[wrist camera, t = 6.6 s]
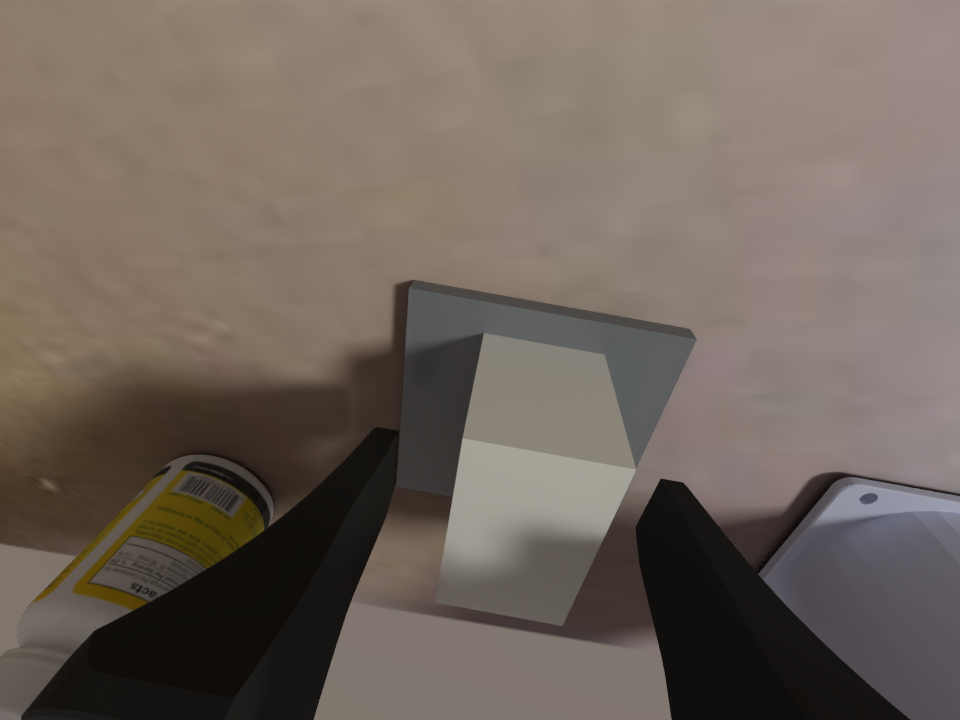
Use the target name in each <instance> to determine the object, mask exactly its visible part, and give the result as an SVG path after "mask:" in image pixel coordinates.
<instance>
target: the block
mask: <svg viewBox="0 0 960 720" xmlns="http://www.w3.org/2000/svg"><path fill="white" fill-rule="evenodd" d="M635 472H636V467H635V463H634V459H633V456H632V452H631V449H630V445H629V441H628V438H627V434H626V430H625V427H624V423H623V419H622V416H621V412H620V409H619V405H618V401H617V398H616V394H615V390H614V387H613V383H612V380H611V376H610V372H609V369H608V365H607V361H606V358H605V355H604V354H598V353H593V352H587V351H582V350H576V349H570V348H565V347H559V346H554V345H548V344H543V343H537V342H531V341H526V340H520V339H515V338H509V337H503V336H498V335H492V334H487V333H484V335H483V340H482V345H481V350H480V355H479V360H478V365H477V370H476V375H475V380H474V384H473V389H472V394H471V399H470V404H469V409H468V414H467V419H466V424H465V429H464V434H463V439H462V445H461V451H460V457H459V463H458V469H457V475H456V481H455V487H454V493H453V499H452V505H451V511H450V517H449V523H448V529H447V535H446V541H445V547H444V553H443V559H442V565H441V571H440V577H439V583H438V589H437V595H436V601H435V603H440V604H446V605H451V606H456V607H462V608H467V609H473V610H478V611H483V612H489V613H494V614H500V615H505V616H510V617H516V618H521V619H526V620H532V621H537V622H543V623H548V624H553V625H559V626H563V624H564V622H565V620H566V618H567V615H568V613H569V611H570V609H571V607H572V605H573V603H574V601H575V599H576V596H577V594H578V592H579V590H580V588H581V586H582V584H583V582H584V580H585V577H586V575H587V573H588V571H589V569H590V567H591V565H592V563H593V560H594V558H595V556H596V554H597V552H598V550H599V548H600V546H601V544H602V541H603V539H604V537H605V535H606V533H607V531H608V529H609V527H610V525H611V522H612V520H613V518H614V516H615V514H616V512H617V510H618V508H619V506H620V503H621V501H622V499H623V497H624V495H625V493H626V491H627V489H628V486H629V484H630V482H631V480H632V478H633V476H634V474H635Z"/></svg>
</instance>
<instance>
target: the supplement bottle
mask: <svg viewBox="0 0 960 720" xmlns="http://www.w3.org/2000/svg"><path fill="white" fill-rule="evenodd" d="M273 512H274V505H273V501H272V498H271V496H270V494H269V492H268V491H267V489H266V488H265V487H264V485H263V484H262V483H261V482H260V481H259V480H258V479H257V478H256V477H255V476H254V475H253V474H252V473H250V472H249V471H248V470H246V469H245V468H243V467H241V466H240V465H238V464H236V463H234V462H231V461H229V460H226V459H223V458H220V457H216V456H211V455H188V456H183V457H180V458H177V459H175V460H173V461H171V462H170V463H168V464H167V465H166V466H164V467H163V468H162V469H161V470H160V471H159V472H158V473H157V474H156V475H155V476H154V477H153V479H152V480H151V481H150V482H149V483H148V484H147V485H146V486H145V487H144V488H143V489H142V490H141V491H140V492H139V493H138V494H137V495H136V496H135V497H134V498H133V499H132V500H131V501H130V503H129V504H128V505H127V506H126V507H125V508H124V509H123V510H122V511H121V512H120V513H119V514H118V515H117V516H116V517H115V518H114V519H113V520H112V521H111V522H110V523H109V524H108V525H107V526H106V527H105V528H104V529H103V530H102V531H101V532H100V533H99V534H98V535H97V537H96V538H95V539H94V540H93V541H92V542H91V543H90V544H89V545H88V546H87V547H86V548H85V549H84V550H83V551H82V552H81V553H80V554H79V555H78V556H77V557H76V558H75V559H74V560H73V561H72V562H71V563H70V564H69V565H68V566H67V567H66V568H65V569H64V570H63V571H62V572H61V573H60V574H59V575H58V577H56V578H55V579H54V581H53V582H52V583H51V584H50V585H49V586H48V587H47V588H46V589H45V590H44V591H43V592H42V593H41V594H40V595H38V596H37V598H36V599H35V600H34V601H33V602H32V603H31V604H30V605H29V606H28V607H27V609H26V610H25V612H24V614H23V615H22V617H21V619H20V621H19V624H18V627H17V638H18V642H19V644H20V646H21V647H20V648H14V649H10V650H8V651H6V652H4V653H3V654H2V655H1V656H0V720H21V715H22V714H23V713H24V712H25V711H26V709H27V708H28V707H29V706H30V704H31V703H32V702H33V701H34V700H35V698H36V697H37V696H38V695H39V693H40V692H41V691H42V690H43V689H44V687H45V686H46V685H47V684H48V682H49V681H50V680H51V679H52V678H53V676H54V675H55V674H56V673H57V671H58V670H59V669H60V668H61V667H62V665H63V664H64V663H65V662H66V661H67V659H68V658H69V657H70V656H71V655H72V654H73V653H74V652H75V650H76V649H77V648H78V647H79V646H80V645H81V644H82V643H83V642H84V641H85V640H86V639H87V638H88V637H89V636H90V635H91V634H92V633H93V631H95V630H96V629H98V628H100V627H102V626H104V625H106V624H108V623H110V622H112V621H114V620H116V619H118V618H120V617H122V616H124V615H126V614H128V613H129V612H131V611H133V610H135V609H137V608H139V607H141V606H143V605H145V604H147V603H149V602H150V601H152V600H154V599H156V598H158V597H160V596H162V595H163V594H165V593H167V592H169V591H171V590H172V589H174V588H176V587H177V586H179V585H181V584H182V583H184V582H186V581H187V580H189V579H191V578H192V577H194V576H196V575H197V574H199V573H201V572H202V571H204V570H206V569H207V568H209V567H211V566H212V565H214V564H216V563H217V562H219V561H220V560H222V559H223V558H225V557H226V556H228V555H229V554H231V553H232V552H234V551H235V550H237V549H238V548H240V547H241V546H243V545H244V544H245V543H247V542H248V541H250V540H251V539H253V538H254V537H256V536H257V535H258V534H260V533H261V532H263V531H264V530H265V529H266V528H267V527H268V525H269V524H270V522H271V520H272V517H273Z"/></svg>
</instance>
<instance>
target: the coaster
mask: <svg viewBox="0 0 960 720" xmlns="http://www.w3.org/2000/svg"><path fill="white" fill-rule="evenodd" d="M484 333H487V334H492V335H498V336H503V337H509V338H515V339H520V340H526V341H531V342H537V343H543V344H548V345H554V346H559V347H565V348H570V349H576V350H582V351H587V352H593V353H598V354H604V355H605V358H606V361H607V365H608V369H609V372H610V376H611V380H612V383H613V387H614V390H615V394H616V398H617V401H618V405H619V409H620V412H621V416H622V419H623V423H624V427H625V430H626V434H627V438H628V441H629V445H630V449H631V452H632V456H633V459H634V463H635V467H637V465H638V463H639V461H640V459H641V457H642V454H643V452H644V450H645V448H646V446H647V444H648V442H649V439H650V437H651V435H652V433H653V431H654V429H655V427H656V425H657V422H658V420H659V418H660V416H661V414H662V412H663V410H664V408H665V405H666V403H667V401H668V399H669V397H670V395H671V393H672V391H673V388H674V386H675V384H676V382H677V380H678V378H679V376H680V374H681V371H682V369H683V367H684V365H685V363H686V361H687V359H688V357H689V354H690V352H691V350H692V348H693V346H694V344H695V342H696V340H697V339H696V338H695V336H694V335H693V333H692V332H691V330H690V329H686V328H680V327H675V326H669V325H664V324H658V323H652V322H647V321H641V320H635V319H630V318H624V317H618V316H613V315H607V314H602V313H596V312H590V311H585V310H579V309H573V308H568V307H562V306H557V305H551V304H545V303H540V302H534V301H528V300H523V299H517V298H512V297H506V296H500V295H495V294H489V293H483V292H478V291H472V290H467V289H461V288H455V287H450V286H444V285H438V284H433V283H427V282H421V281H416V280H414V281H413V282H412V284H411V286H410V287H409V295H408V311H407V327H406V342H405V358H404V374H403V390H402V405H401V421H400V437H399V452H398V468H397V484H396V487H399V488H405V489H410V490H415V491H421V492H426V493H432V494H437V495H443V496H448V497H453V493H454V487H455V481H456V475H457V469H458V463H459V457H460V451H461V445H462V439H463V434H464V429H465V424H466V419H467V414H468V409H469V404H470V399H471V394H472V389H473V384H474V380H475V375H476V370H477V365H478V360H479V355H480V350H481V345H482V340H483V335H484Z"/></svg>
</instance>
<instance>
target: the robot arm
mask: <svg viewBox="0 0 960 720" xmlns="http://www.w3.org/2000/svg"><path fill="white" fill-rule="evenodd" d="M398 437H399V431H396V430H390V429H385V428H379V427H376V428H375V429H373V430H372V431H371V432H370V433H369V435H368V436H367V437H366V438H365V439H364V440H363V441H362V443H361V444H360V445H359V446H358V447H357V448H356V449H355V450H354V451H353V452H352V453H351V454H350V455H349V456H348V457H347V459H346V460H345V461H344V462H343V463H342V464H341V465H340V466H339V467H337V468H336V469H335V470H334V471H333V472H332V473H331V474H330V475H329V476H328V477H327V478H326V479H325V480H324V481H323V482H322V483H321V484H320V485H319V486H318V487H316V488H315V489H314V490H313V491H312V492H311V493H310V494H308V495H307V496H306V497H305V498H304V499H303V500H302V501H300V502H299V503H298V504H297V505H296V506H295V507H293V508H292V509H291V510H290V511H288V512H287V513H286V514H285V515H283V516H282V517H281V518H280V519H278V520H277V521H276V522H274V523H273V524H272V525H270V526H269V527H268V528H266V529H265V530H264V531H263V532H261V533H260V534H258V535H257V536H256V537H254V538H253V539H251V540H250V541H248V542H247V543H245V544H244V545H243V546H241V547H240V548H238V549H237V550H235V551H234V552H232V553H231V554H229V555H228V556H226V557H225V558H223V559H222V560H220V561H219V562H217V563H216V564H214V565H212V566H211V567H209V568H207V569H206V570H204V571H202V572H201V573H199V574H197V575H196V576H194V577H192V578H191V579H189V580H187V581H186V582H184V583H182V584H181V585H179V586H177V587H176V588H174V589H172V590H171V591H169V592H167V593H165V594H163V595H162V596H160V597H158V598H156V599H154V600H152V601H150V602H149V603H147V604H145V605H143V606H141V607H139V608H137V609H135V610H133V611H131V612H129V613H128V614H126V615H124V616H122V617H120V618H118V619H116V620H114V621H112V622H110V623H108V624H106V625H104V626H102V627H100V628H98V629H96V630H95V631H93V633H92V634H91V635H90V636H89V637H88V638H87V639H86V640H85V641H84V642H83V643H82V644H81V645H80V646H79V647H78V648H77V649H76V650H75V652H74V653H73V654H72V655H71V656H70V657H69V658H68V659H67V661H66V662H65V663H64V664H63V665H62V667H61V668H60V669H59V670H58V671H57V673H56V674H55V675H54V676H53V678H52V679H51V680H50V681H49V682H48V684H47V685H46V686H45V687H44V689H43V690H42V691H41V692H40V693H39V695H38V696H37V697H36V698H35V700H34V701H33V702H32V703H31V704H30V706H29V707H28V708H27V709H26V711H25V712H24V713H23V714H22V715H21V720H314V716H315V712H316V709H317V706H318V703H319V699H320V696H321V693H322V689H323V686H324V683H325V680H326V676H327V673H328V670H329V667H330V663H331V660H332V657H333V654H334V651H335V648H336V644H337V641H338V638H339V635H340V631H341V629H342V625H343V622H344V619H345V616H346V613H347V611H348V608H349V605H350V603H351V600H352V597H353V595H354V592H355V590H356V588H357V585H358V583H359V580H360V578H361V576H362V573H363V571H364V568H365V566H366V564H367V561H368V559H369V556H370V554H371V552H372V549H373V547H374V545H375V542H376V540H377V537H378V535H379V532H380V530H381V528H382V525H383V523H384V520H385V518H386V514H387V511H388V508H389V504H390V501H391V498H392V494H393V491H394V487H395V484H396V469H397V453H398ZM636 537H637V547H638V555H639V563H640V568H641V573H642V577H643V581H644V586H645V590H646V594H647V598H648V603H649V607H650V611H651V615H652V619H653V623H654V627H655V631H656V635H657V640H658V644H659V648H660V652H661V656H662V661H663V666H664V671H665V677H666V683H667V691H668V698H669V704H670V711H671V718H672V720H960V496H956V495H950V494H944V493H939V492H933V491H928V490H922V489H917V488H911V487H906V486H900V485H895V484H889V483H883V482H878V481H872V480H867V479H861V478H856V477H846V478H842V479H840V480H837V481H836V482H835V483H833V484H832V485H831V487H830V488H829V489H828V490H827V491H826V493H825V494H824V495H823V496H822V498H821V499H820V500H819V501H818V502H817V504H816V505H815V506H814V507H813V508H812V510H811V511H810V512H809V513H808V514H807V516H806V517H805V518H804V519H803V520H802V522H801V523H800V524H799V525H798V527H797V528H796V529H795V530H794V531H793V533H792V534H791V535H790V536H789V537H788V539H787V540H786V541H785V542H784V543H783V545H782V546H781V547H780V548H779V549H778V551H777V552H776V553H775V554H774V555H773V557H772V558H771V559H770V560H769V562H768V563H767V564H766V565H765V566H764V568H763V569H762V570H761V571H760V572H759V574H757V572H756V571H755V570H754V569H753V568H752V567H751V565H750V564H749V563H748V562H747V561H746V560H745V558H744V557H743V556H742V555H741V554H740V552H739V551H738V550H737V549H736V548H735V546H734V545H733V544H732V543H731V541H730V540H729V539H728V538H727V537H726V535H725V534H724V533H723V532H722V530H721V529H720V528H719V527H718V525H717V524H716V523H715V522H714V520H713V519H712V518H711V516H710V515H709V514H708V513H707V511H706V510H705V509H704V508H703V506H702V505H701V504H700V503H699V501H698V500H697V499H696V498H695V496H694V495H693V494H692V493H691V491H690V490H689V489H688V488H687V486H686V485H685V484H684V483H682V482H677V481H671V480H666V479H660V481H659V483H658V485H657V487H656V489H655V491H654V493H653V495H652V497H651V499H650V500H649V502H648V504H647V506H646V508H645V510H644V512H643V514H642V516H641V518H640V520H639V522H638V523H637V525H636Z"/></svg>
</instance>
